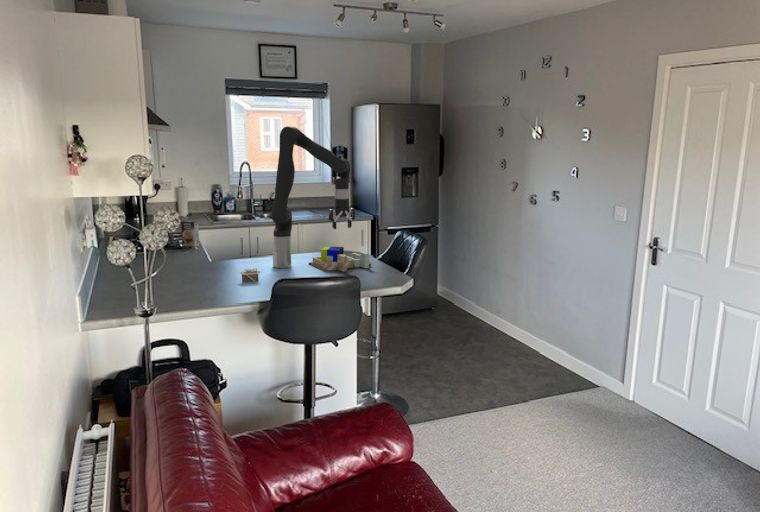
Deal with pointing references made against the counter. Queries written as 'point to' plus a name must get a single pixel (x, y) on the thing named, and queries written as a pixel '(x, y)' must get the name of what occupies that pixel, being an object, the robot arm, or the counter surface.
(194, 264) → the counter surface
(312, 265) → the lane rails
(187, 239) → the coffee box
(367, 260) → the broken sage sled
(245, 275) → the wooden crate
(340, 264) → the beige lumpy mound
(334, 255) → the puzzle toy
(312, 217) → the counter surface
